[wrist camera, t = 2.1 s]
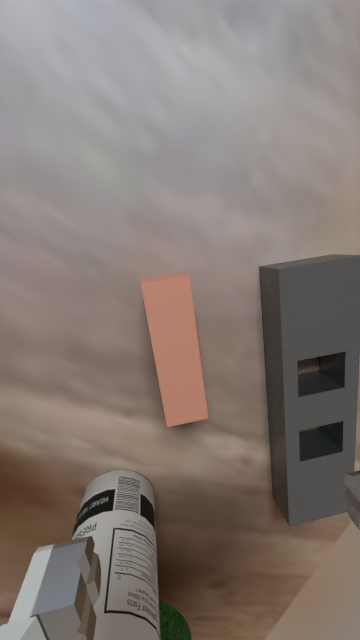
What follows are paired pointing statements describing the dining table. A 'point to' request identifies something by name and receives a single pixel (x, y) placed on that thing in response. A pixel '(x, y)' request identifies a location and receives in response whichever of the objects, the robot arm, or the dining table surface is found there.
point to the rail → (311, 381)
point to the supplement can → (123, 554)
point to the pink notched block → (175, 347)
